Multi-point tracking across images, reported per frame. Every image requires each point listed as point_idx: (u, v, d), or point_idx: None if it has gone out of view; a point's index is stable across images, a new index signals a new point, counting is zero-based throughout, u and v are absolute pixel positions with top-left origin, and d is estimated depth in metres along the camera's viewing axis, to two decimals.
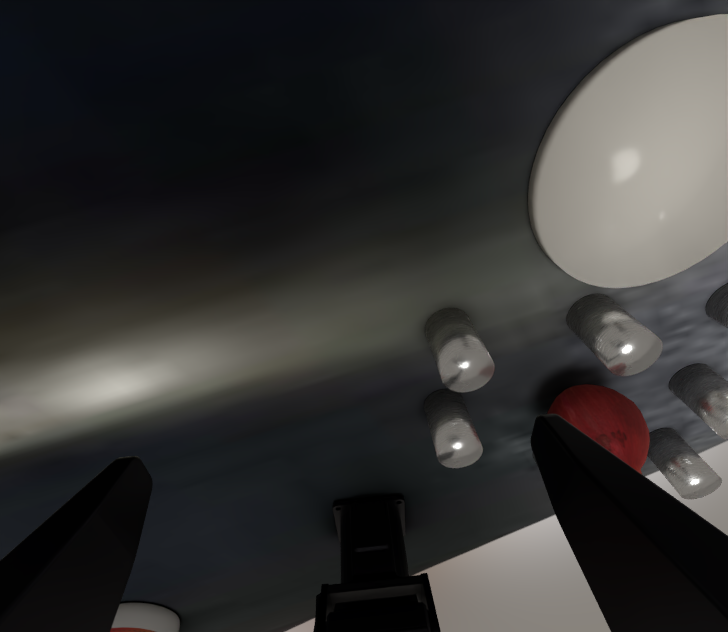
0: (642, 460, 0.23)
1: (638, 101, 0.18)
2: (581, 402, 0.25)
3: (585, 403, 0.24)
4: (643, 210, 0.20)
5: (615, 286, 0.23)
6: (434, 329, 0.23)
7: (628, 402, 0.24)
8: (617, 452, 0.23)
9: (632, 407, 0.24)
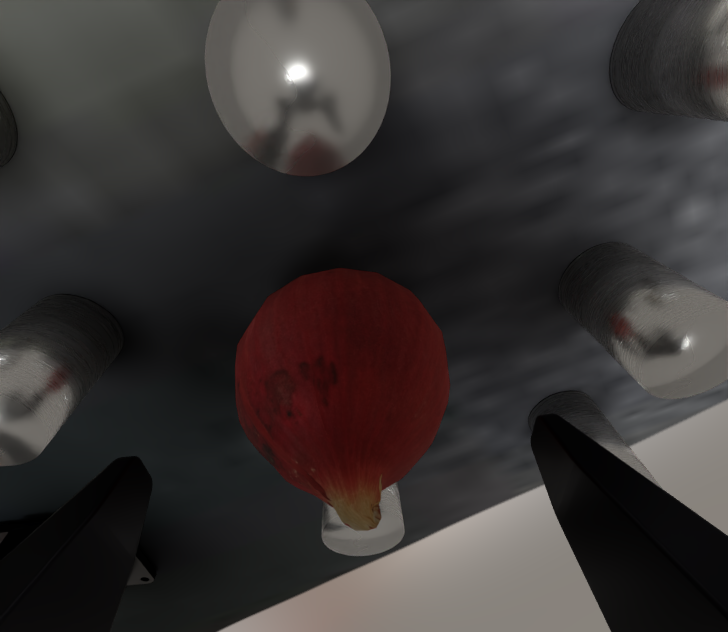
0: (391, 445, 0.08)
1: None
2: (277, 297, 0.10)
3: (281, 297, 0.09)
4: None
5: None
6: None
7: (392, 294, 0.09)
8: (308, 420, 0.08)
9: (395, 304, 0.09)
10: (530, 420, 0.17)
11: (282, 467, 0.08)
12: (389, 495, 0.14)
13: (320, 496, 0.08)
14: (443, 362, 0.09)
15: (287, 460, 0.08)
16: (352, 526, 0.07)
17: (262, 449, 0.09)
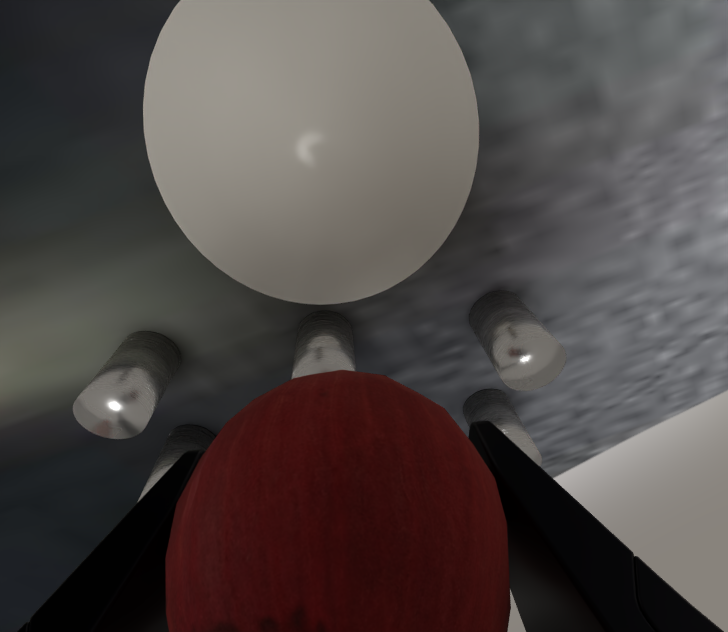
0: None
1: (232, 64, 0.13)
2: (236, 440, 0.06)
3: (240, 446, 0.06)
4: (311, 208, 0.16)
5: (322, 302, 0.18)
6: None
7: (423, 443, 0.06)
8: None
9: (429, 468, 0.05)
10: None
11: None
12: None
13: None
14: (507, 555, 0.06)
15: None
16: None
17: None
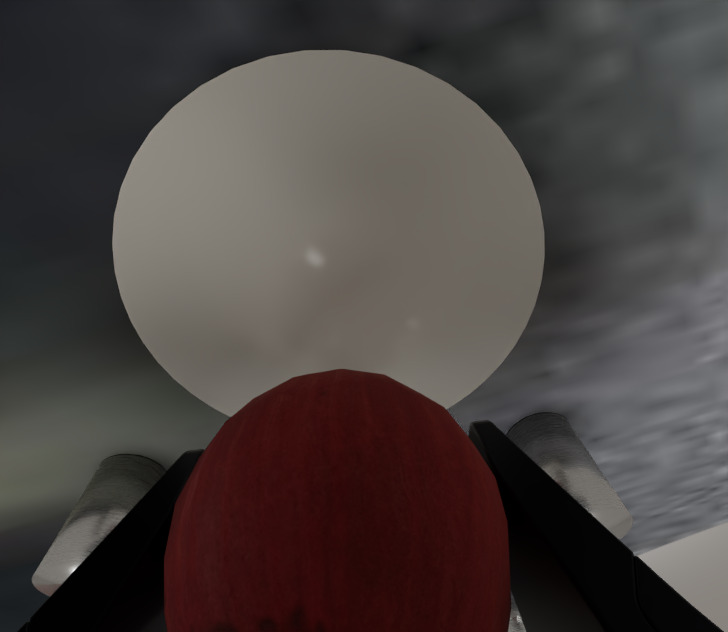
0: None
1: (228, 196, 0.10)
2: (235, 439, 0.06)
3: (239, 445, 0.06)
4: (327, 347, 0.13)
5: None
6: (83, 492, 0.16)
7: (423, 442, 0.06)
8: None
9: (429, 467, 0.05)
10: None
11: None
12: None
13: None
14: (507, 555, 0.06)
15: None
16: None
17: None
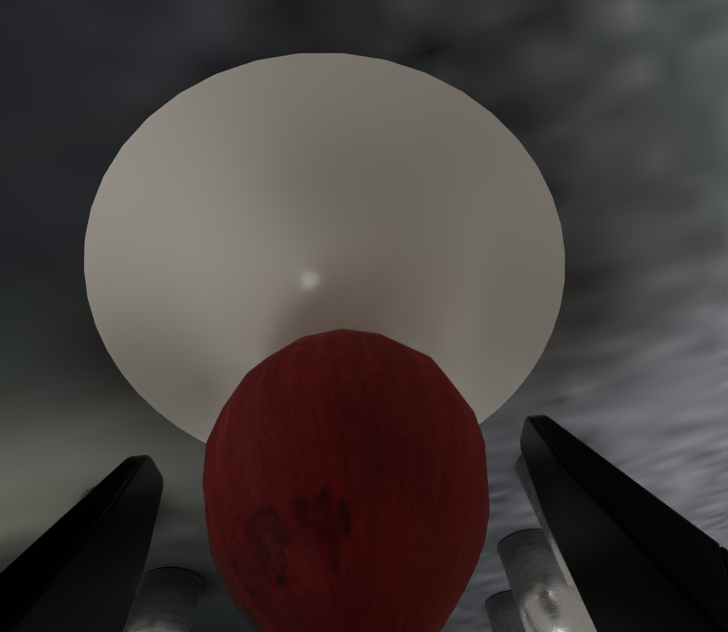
0: (429, 612, 0.05)
1: (213, 217, 0.09)
2: (259, 381, 0.07)
3: (264, 384, 0.07)
4: None
5: None
6: None
7: (414, 375, 0.07)
8: (309, 592, 0.05)
9: (421, 392, 0.07)
10: (486, 606, 0.24)
11: None
12: None
13: None
14: (485, 464, 0.07)
15: None
16: None
17: (243, 610, 0.06)
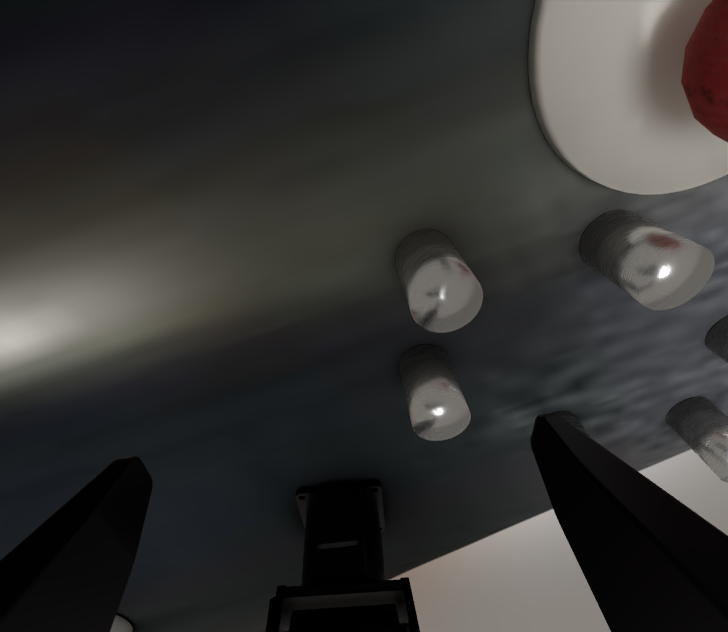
0: None
1: None
2: None
3: None
4: None
5: (646, 192, 0.17)
6: (404, 254, 0.18)
7: None
8: None
9: None
10: (669, 416, 0.27)
11: None
12: None
13: None
14: None
15: None
16: None
17: None
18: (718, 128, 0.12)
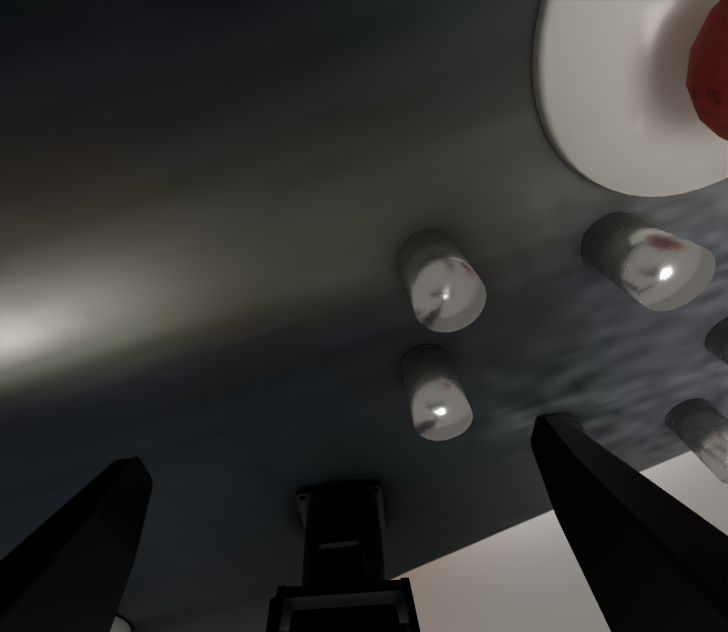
0: None
1: None
2: None
3: None
4: None
5: (648, 194, 0.17)
6: (407, 254, 0.18)
7: None
8: None
9: None
10: (669, 417, 0.27)
11: None
12: None
13: None
14: None
15: None
16: None
17: None
18: (724, 128, 0.12)
